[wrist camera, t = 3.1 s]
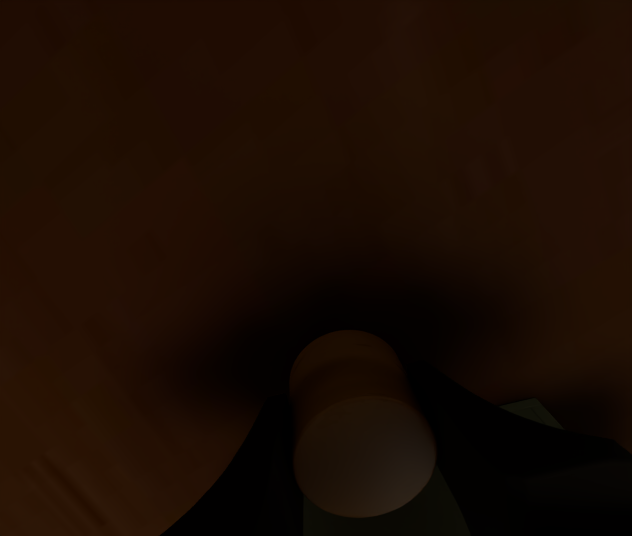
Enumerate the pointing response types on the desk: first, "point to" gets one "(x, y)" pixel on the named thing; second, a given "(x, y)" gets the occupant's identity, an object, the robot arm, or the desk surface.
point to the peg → (357, 427)
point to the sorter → (414, 502)
